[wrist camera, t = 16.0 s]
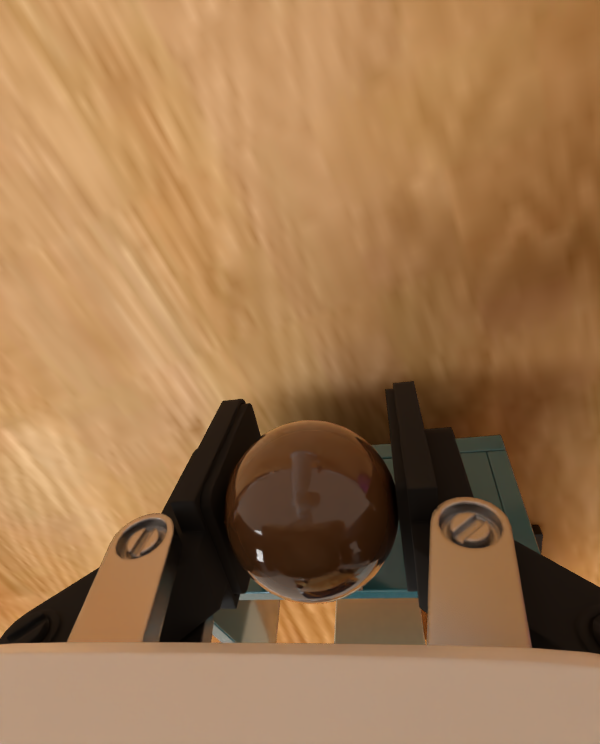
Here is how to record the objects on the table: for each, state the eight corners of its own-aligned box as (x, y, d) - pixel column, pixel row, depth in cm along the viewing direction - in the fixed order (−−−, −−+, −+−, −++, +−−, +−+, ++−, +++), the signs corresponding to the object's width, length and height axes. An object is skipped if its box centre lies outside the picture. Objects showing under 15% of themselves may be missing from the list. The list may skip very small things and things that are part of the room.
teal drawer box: (119, 332, 12) (-11, 565, 8) (527, 274, 10) (681, 544, 6) (272, 570, 24) (256, 721, 19) (480, 565, 21) (518, 733, 17)
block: (345, 728, 23) (347, 640, 27) (435, 732, 22) (423, 640, 26) (332, 681, 21) (336, 593, 25) (430, 683, 20) (418, 592, 24)
